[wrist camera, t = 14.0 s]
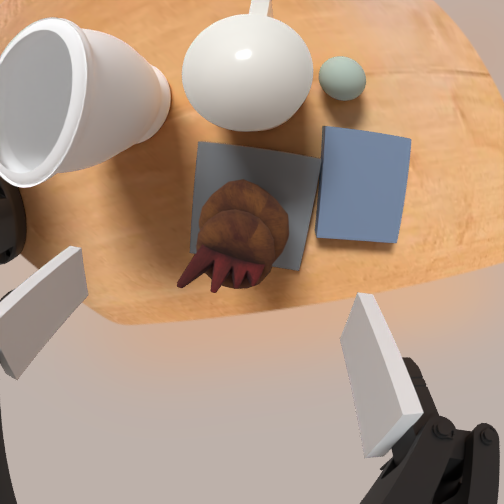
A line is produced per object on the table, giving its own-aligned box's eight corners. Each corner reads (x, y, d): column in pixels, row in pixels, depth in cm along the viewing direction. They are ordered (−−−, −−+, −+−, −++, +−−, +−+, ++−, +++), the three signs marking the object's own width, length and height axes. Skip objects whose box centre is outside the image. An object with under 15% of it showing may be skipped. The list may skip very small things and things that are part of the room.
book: (314, 228, 29) (316, 237, 26) (321, 126, 24) (325, 126, 22) (389, 234, 28) (397, 243, 26) (402, 137, 24) (412, 139, 22)
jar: (183, 150, 26) (90, 179, 12) (95, 159, 27) (-13, 195, 13) (182, 45, 22) (94, -11, 8) (93, 66, 23) (-15, 52, 9)
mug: (208, 125, 25) (174, 125, 17) (224, 21, 21) (199, -19, 12) (295, 137, 25) (303, 141, 17) (311, 31, 20) (323, -9, 12)
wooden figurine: (202, 210, 27) (131, 294, 14) (239, 162, 25) (191, 202, 11) (259, 253, 28) (240, 367, 15) (298, 209, 26) (318, 299, 13)
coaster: (192, 248, 30) (189, 252, 29) (201, 140, 26) (198, 141, 25) (298, 266, 30) (298, 270, 29) (320, 158, 25) (321, 159, 24)
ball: (313, 97, 23) (318, 92, 19) (319, 57, 21) (325, 46, 18) (356, 107, 23) (368, 103, 19) (361, 67, 21) (374, 59, 18)
